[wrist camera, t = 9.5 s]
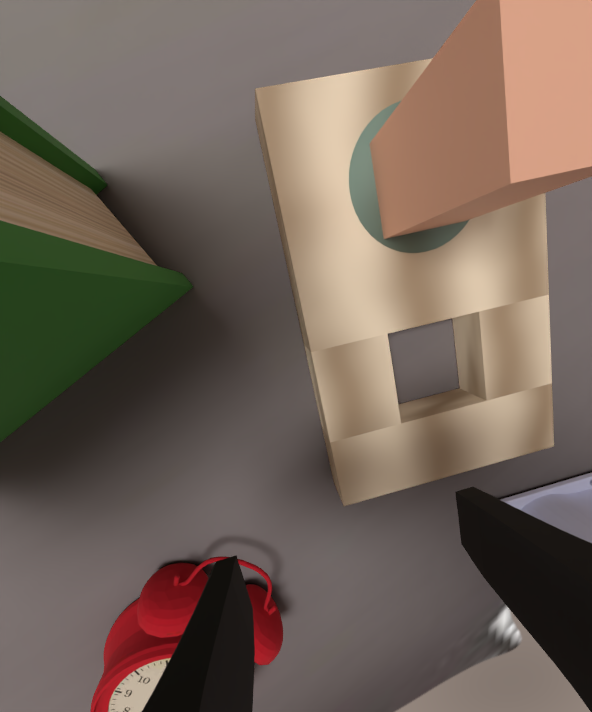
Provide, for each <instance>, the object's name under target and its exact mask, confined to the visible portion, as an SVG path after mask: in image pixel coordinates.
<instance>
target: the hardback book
mask: <svg viewBox="0 0 592 712" xmlns="http://www.w3.org/2000/svg"><path fill="white" fill-rule="evenodd" d="M106 186H107V183H106V182H105V181H104V180H103V179H102V178H101V176H100V175H99V174H98V173H97V172H96V170H95V169H94V168H92V167H91V166H90V165H89V164H87V163H86V162H85V161H83V160H82V159H81V158H80V157H78V156H77V155H76V154H74V153H73V152H72V151H71V150H69V149H68V148H67V147H65V146H64V145H63V144H61V143H60V142H59V141H58V140H56V139H55V138H54V137H52V136H51V135H50V134H49V133H47V132H46V131H45V130H43V129H42V128H41V127H40V126H38V125H37V124H36V123H34V122H33V121H32V120H31V119H29V118H28V117H27V116H25V115H24V114H23V113H22V112H20V111H19V110H18V109H16V108H15V107H14V106H13V105H11V104H10V103H9V102H7V101H6V100H5V99H4V98H2V97H1V96H0V442H1V441H3V440H4V439H5V438H6V437H8V436H9V435H10V434H11V433H13V432H14V431H15V430H16V429H18V428H19V427H20V426H21V425H23V424H24V423H25V422H26V421H27V420H29V419H30V418H31V417H32V416H34V415H35V414H36V413H37V412H39V411H40V410H41V409H42V408H44V407H45V406H46V405H47V404H49V403H50V402H51V401H52V400H54V399H55V398H56V397H57V396H59V395H60V394H61V393H62V392H63V391H65V390H66V389H67V388H68V387H70V386H71V385H72V384H73V383H75V382H76V381H77V380H78V379H80V378H81V377H82V376H83V375H85V374H86V373H87V372H88V371H90V370H91V369H92V368H93V367H95V366H96V365H97V364H98V363H99V362H101V361H102V360H103V359H104V358H106V357H107V356H108V355H109V354H111V353H112V352H113V351H114V350H116V349H117V348H118V347H119V346H121V345H122V344H123V343H124V342H126V341H127V340H128V339H129V338H131V337H132V336H133V335H134V334H136V333H137V332H138V331H139V330H140V329H142V328H143V327H144V326H145V325H147V324H148V323H149V322H150V321H152V320H153V319H154V318H155V317H157V316H158V315H159V314H160V313H162V312H163V311H164V310H165V309H167V308H168V307H169V306H170V305H172V304H173V303H174V302H175V301H176V300H178V299H179V298H180V297H181V296H183V295H184V294H185V293H186V292H188V291H189V290H190V289H191V288H193V285H192V284H191V283H190V282H189V281H188V279H187V278H186V277H185V276H184V275H183V274H182V273H180V272H176V271H173V270H169V269H166V268H162V267H159V266H157V265H156V264H155V263H154V262H153V260H152V259H151V258H150V257H149V256H148V255H147V253H146V252H145V251H144V250H143V249H142V248H141V246H140V245H139V244H138V243H137V242H136V241H135V239H134V238H133V237H132V236H131V235H130V234H129V233H128V231H127V230H126V229H125V228H124V227H123V226H122V224H121V223H120V222H119V221H118V220H117V219H116V217H115V216H114V215H113V214H112V213H111V212H110V210H109V209H108V208H107V207H106V206H105V205H104V203H103V202H102V201H101V200H100V199H99V198H98V196H97V195H96V194H98V193H99V192H100V191H101V190H103V189H104V188H105V187H106Z"/></svg>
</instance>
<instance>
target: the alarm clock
mask: <svg viewBox="0 0 592 712" xmlns="http://www.w3.org/2000/svg"><path fill="white" fill-rule="evenodd" d="M226 558H229V557H214V558H210V559H208V560H205V561H204V562H202V563H201V564H200V565H199V566H196V565H194V564H190V563H175V564H171V565H168V566H165V567H163V568H161V569H160V570H158V571H157V572H156V573H155V574H153V575H152V576H151V578H150V579H149V580H148V581H147V583H146V584H145V586H144V588H143V590H142V592H141V595H140V598H139V599H137V600H136V601H135V602H133V603H132V604H131V605H129V606H128V607H127V608H126V609H125V610H124V611H123V612H122V613H121V614H120V616H119V617H118V618H117V620H116V621H115V623H114V624H113V626H112V628H111V631H110V633H109V635H108V638H107V640H106V643H105V648H104V673H103V675H102V678H101V680H100V682H99V684H98V687H97V689H96V691H95V693H94V696H93V700H92V704H91V712H142V710H143V709H144V707H145V705H146V703H147V701H148V700H149V698H150V696H151V694H152V692H153V691H154V689H155V687H156V685H157V683H158V681H159V679H160V678H161V676H162V674H163V672H164V670H165V668H166V666H167V664H168V662H169V660H170V659H171V657H172V655H173V653H174V651H175V649H176V647H177V645H178V643H179V641H180V639H181V637H182V635H183V633H184V631H185V628H186V626H187V624H188V622H189V620H190V618H191V616H192V614H193V612H194V610H195V607H196V605H197V603H198V601H199V599H200V596H201V594H202V592H203V590H204V587H205V585H206V583H207V580H208V576H207V575H206V573H205V572H204V571H203V570H202V568H203V567H204V566H206V565H207V564H210V563H213V562H217V561H219V560H223V559H226ZM238 562H239V564H240V565H243V566H245V567H248V568H250V569H253V570H255V571H256V572H258V573H259V574H261V575H262V576H263V577H264V578H265V579H266V581H267V584H268V593H267V592H266V591H265V590H264V589H263V588H261V587H260V586H257V585H253V584H249V585H246V588H247V591H248V594H249V597H250V600H251V604H252V607H253V621H254V644H255V658H254V663H255V662H256V663H257V664H259V665H268V664H269V663H270V662H271V661H273V660H274V658H275V657H276V656H277V654H278V653H279V651H280V649H281V645H282V641H283V626H282V621H281V617H280V612H279V610H278V608H277V606H276V603H275V602H274V600H273V599H272V597H271V592H272V582H271V580H270V578H269V576H268V574H267V573H265V572H264V571H263V570H262V569H261V568H259V567H258V566H256V565H253V564H251V563H249V562H246V561H244V560H240V559H238Z"/></svg>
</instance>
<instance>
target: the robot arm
mask: <svg viewBox="0 0 592 712" xmlns="http://www.w3.org/2000/svg"><path fill="white" fill-rule="evenodd" d="M456 500H457V509H458V517H459V526H460V534H461V543H462V545H463V547H464V548H465V550H466V551H467V553H468V554H469V556H470V558H471V559H472V561H473V562H474V564H475V565H476V566H477V568H478V569H479V571H480V572H481V574H482V575H483V577H484V578H485V579H486V581H487V582H488V583H489V584H490V586H491V587H492V588H493V589H494V590H495V592H496V593H497V594H498V595H499V597H500V598H501V599H502V600H503V602H504V603H505V604H506V605H507V606H508V608H509V609H510V610H511V611H512V612H513V614H514V615H515V616H516V617H517V618H518V620H519V621H520V622H521V623H522V625H523V626H524V627H525V628H526V629H527V630H528V632H529V633H530V634H531V635H532V637H533V638H534V639H535V640H536V641H537V643H538V644H539V645H540V646H541V647H542V649H543V650H544V651H545V652H546V653H547V655H548V656H549V657H550V658H551V660H552V661H553V662H554V663H555V664H556V666H557V667H558V668H559V670H560V671H561V672H562V673H563V675H564V676H565V677H566V679H567V680H568V681H569V682H570V684H571V685H572V686H573V688H574V689H575V690H576V692H577V693H578V694H579V696H580V697H581V698H582V700H583V701H584V703H585V704H586V706H587V707H588V708H589V710H590V711H591V712H592V473H588V474H585V475H582V476H578V477H575V478H571V479H568V480H565V481H561V482H558V483H555V484H551V485H548V486H544V487H541V488H538V489H534V490H531V491H528V492H524V493H521V494H517V495H514V496H511V497H507V498H504V499H501V500H499V499H497V498H495V497H493V496H491V495H489V494H487V493H485V492H483V491H481V490H479V489H477V488H475V487H470V488H467V489H464V490H460V491H457V492H456ZM254 658H255V644H254V621H253V607H252V604H251V600H250V597H249V594H248V591H247V588H246V585H245V581H244V578H243V575H242V572H241V569H240V566H239V562H238V559H237V556H233V557H229V558H226V559H223V560H219V561H217V562H216V563H215V565H214V567H213V569H212V571H211V574H210V576H209V578H208V580H207V583H206V585H205V587H204V590H203V592H202V594H201V596H200V599H199V601H198V603H197V605H196V607H195V610H194V612H193V614H192V616H191V618H190V620H189V622H188V624H187V626H186V628H185V631H184V633H183V635H182V637H181V639H180V641H179V643H178V645H177V647H176V649H175V651H174V653H173V655H172V657H171V659H170V660H169V662H168V664H167V666H166V668H165V670H164V672H163V674H162V676H161V678H160V679H159V681H158V683H157V685H156V687H155V689H154V691H153V692H152V694H151V696H150V698H149V700H148V701H147V703H146V705H145V707H144V709H143V710H142V712H252V705H253V683H254Z"/></svg>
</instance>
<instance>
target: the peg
mask: <svg viewBox="0 0 592 712" xmlns="http://www.w3.org/2000/svg"><path fill="white" fill-rule="evenodd" d="M370 151H371V157H372V164H373V171H374V177H375V184H376V191H377V197H378V204H379V211H380V217H381V224H382V231H383V237H384V239H387V238H391V237H396V236H400V235H405V234H409V233H414V232H418V231H423V230H427V229H432V228H437V227H441V226H446V225H450V224H455V223H459V222H464V221H467V220H469V219H472V218H475V217H478V216H481V215H484V214H486V213H489V212H492V211H495V210H498V209H500V208H503V207H506V206H509V205H512V204H515V203H517V202H520V201H523V200H526V199H529V198H532V197H534V196H537V195H540V194H543V193H546V192H548V191H551V190H554V189H557V188H560V187H563V186H565V185H568V184H571V183H574V182H577V181H580V180H582V179H585V178H588V177H591V176H592V0H476V2H475V3H474V4H473V6H472V7H471V8H470V10H469V11H468V12H467V14H466V15H465V16H464V18H463V19H462V20H461V22H460V23H459V24H458V26H457V27H456V28H455V30H454V31H453V32H452V34H451V35H450V36H449V38H448V39H447V40H446V42H445V43H444V44H443V46H442V47H441V49H440V50H439V51H438V53H437V54H436V55H435V57H434V58H433V59H432V61H431V62H430V63H429V65H428V66H427V67H426V69H425V70H424V71H423V73H422V74H421V75H420V77H419V78H418V79H417V81H416V82H415V83H414V85H413V86H412V87H411V89H410V90H409V91H408V93H407V94H406V95H405V97H404V98H403V99H402V101H401V102H400V103H399V105H398V106H397V107H396V109H395V110H394V111H393V113H392V114H391V115H390V117H389V118H388V119H387V121H386V122H385V123H384V125H383V126H382V128H381V129H380V130H379V132H378V133H377V134H376V136H375V137H374V138H373V140H372V141H371V142H370Z"/></svg>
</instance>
